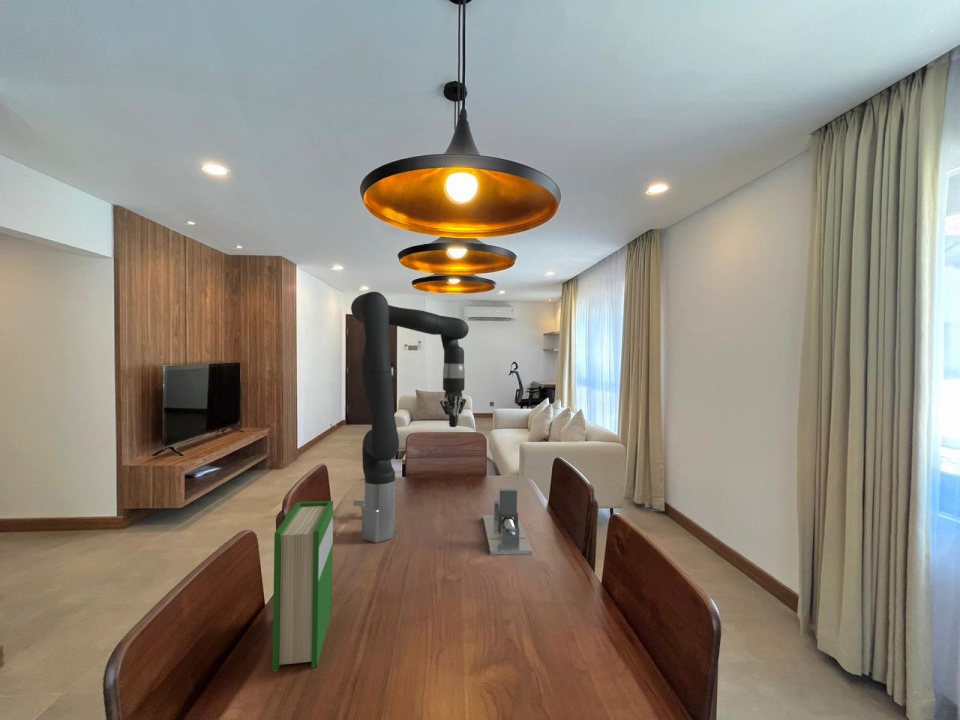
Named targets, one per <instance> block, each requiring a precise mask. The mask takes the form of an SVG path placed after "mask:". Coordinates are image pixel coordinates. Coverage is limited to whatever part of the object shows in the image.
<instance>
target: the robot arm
mask: <svg viewBox="0 0 960 720" xmlns="http://www.w3.org/2000/svg"><path fill="white" fill-rule="evenodd" d="M350 311H351V314H352V316H353V317H354V319H355V320H357V322H360V323H362V324H363V328H364V345H363V350H362V351H363V352H362V356H361V361H360V381H361V382H360V383H361V389H362V393H363V396H364V399H365V401H366V405H367V407H368V410H369V414H370V418H371V429H369V430H368V431H367V432H366V433H365V435H364V436H363V440H362V450H361V452H362V453H361V454H362V472H363V475H364V500H363V501H364V507H363V508H362V510H361V539H363V540H366V541H369V542H372V543H374V544H375V543H378V542H385V541H389V540H390V539H392V538H394V536H395V514H396V513H395V506H396V505H395V503H396V500H395V499H396V497H395V496H396V494H395V493H396V471H395V469H394V468H393V465H392V464H393V463H392V459H394V458H395V457H396V456H397V454H398V452H399V449H400V439H399V433H398V426H397V423H396V422H397V421H396V417H395V408H394V404H395V403H394V391H393V374H392V373H393V372H392V365H391V363H392V362H391V354H390V353H391V351H390V350H391V349H390V341H389V338H390V337H389V326H394V327H399V328H403V329H407V330H412V331H416V332H420V333H424V334H427V335H434V336H435V335H438V336H439V335H440V339H441V340H440V341H441V344H442V349H443V367H442V390H443V391H445V392H444V399H443V400H440V401H439V403H440V406H441V408H442V410H443V412H444V415H447V416H448V426H449V428H457V426H458V416H459V415H460V414H462V412H463V409H464V408H465V405H466V403H467V399H466V398H463V393H462V392H463V391H465V387H466V386H465V384H466V383H465V378H466V377H465V375H466V374H465V373H466V372H465V371H466V370H465V349H464V348H463V347H461V346H460V344H459V340H462V339H464V338H466V337H467V336H468V334H469V331H470V330H469V325H468V324H467V322H466V321H465V319H461V318H459V317H454V316H448V315H447V316H445V315H440V314H436V313H433V312H428V311H427V310H426V311H425V310H422V309H414V308H405V307H398V306H393V305H390V304H389V303H388V299H387V298H386V297H385V295H383V294H382V293H380V292H378V291H370V292H366V293H363V294H359V296H357V297H355V298H354V299H353V301H352V303H351V306H350Z"/></svg>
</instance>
